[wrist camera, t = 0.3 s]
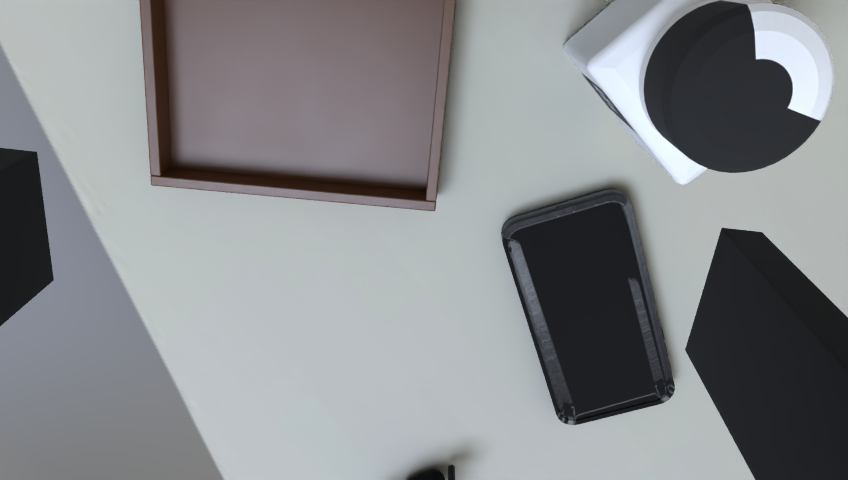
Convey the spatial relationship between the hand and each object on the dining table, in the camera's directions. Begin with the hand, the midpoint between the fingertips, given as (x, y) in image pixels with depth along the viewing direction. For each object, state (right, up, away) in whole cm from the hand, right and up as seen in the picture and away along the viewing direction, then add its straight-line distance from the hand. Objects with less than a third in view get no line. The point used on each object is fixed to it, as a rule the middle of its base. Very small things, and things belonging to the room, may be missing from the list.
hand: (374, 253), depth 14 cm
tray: (-6, +9, +26) cm, 28 cm away
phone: (+11, -4, +31) cm, 33 cm away
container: (+14, +11, +25) cm, 30 cm away
